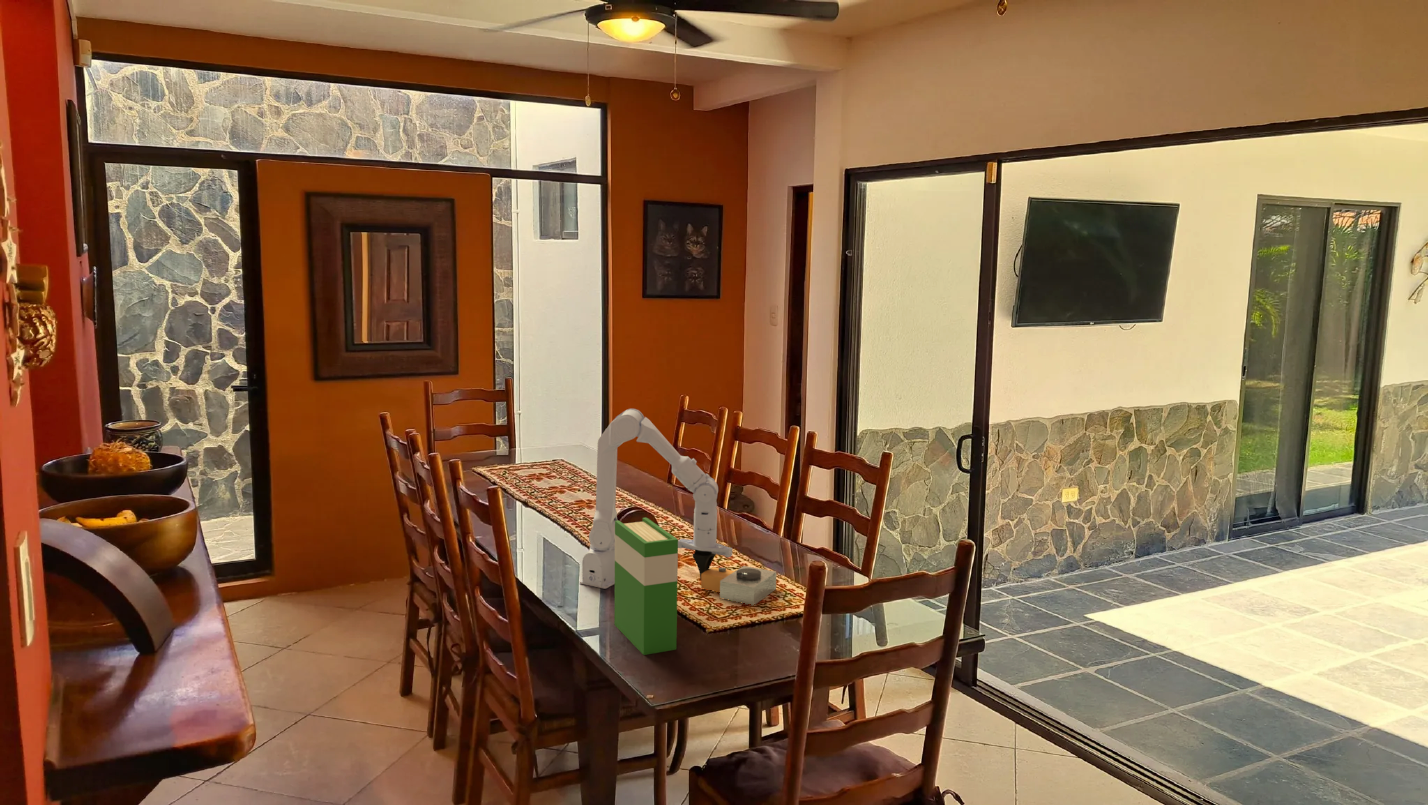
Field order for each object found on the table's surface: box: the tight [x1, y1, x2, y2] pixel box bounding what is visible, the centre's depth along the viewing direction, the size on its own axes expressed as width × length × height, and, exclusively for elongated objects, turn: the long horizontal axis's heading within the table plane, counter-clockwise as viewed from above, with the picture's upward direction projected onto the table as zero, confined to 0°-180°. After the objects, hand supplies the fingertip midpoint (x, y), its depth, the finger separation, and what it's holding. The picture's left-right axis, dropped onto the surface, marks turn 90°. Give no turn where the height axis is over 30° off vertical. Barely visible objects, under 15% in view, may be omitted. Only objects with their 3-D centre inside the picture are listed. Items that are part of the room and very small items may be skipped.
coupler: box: [719, 565, 777, 606], centre depth 238 cm, size 13×15×6 cm
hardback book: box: [613, 517, 679, 656], centre depth 208 cm, size 18×7×24 cm, turn 26°
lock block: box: [700, 566, 736, 593], centre depth 240 cm, size 6×7×5 cm
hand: (703, 579), depth 242 cm, fingers closed
